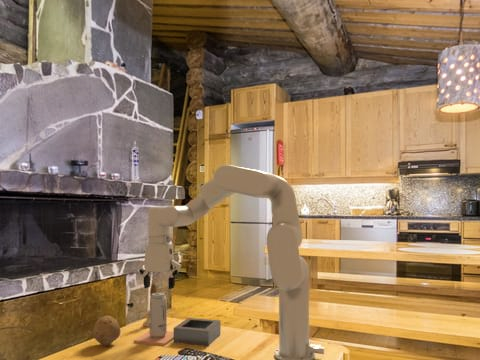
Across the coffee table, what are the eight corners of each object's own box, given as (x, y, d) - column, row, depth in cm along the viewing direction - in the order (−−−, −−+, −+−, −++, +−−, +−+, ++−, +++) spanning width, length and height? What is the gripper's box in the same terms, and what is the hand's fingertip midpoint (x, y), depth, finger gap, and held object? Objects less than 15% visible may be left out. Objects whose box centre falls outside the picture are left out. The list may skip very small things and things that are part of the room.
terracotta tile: (179, 334, 144) (179, 332, 144) (165, 345, 132) (165, 343, 132) (150, 332, 147) (150, 329, 147) (133, 342, 135) (133, 340, 136)
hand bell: (159, 327, 153) (159, 286, 154) (139, 326, 154) (140, 285, 156) (167, 321, 161) (167, 282, 162) (148, 320, 163) (149, 281, 164)
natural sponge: (85, 347, 131) (86, 317, 132) (105, 339, 139) (105, 311, 139) (105, 351, 127) (106, 320, 128) (124, 343, 135) (125, 314, 136)
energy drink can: (162, 339, 136) (162, 296, 137) (146, 338, 137) (147, 295, 138) (169, 334, 142) (169, 292, 143) (154, 333, 143) (154, 291, 144)
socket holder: (220, 334, 144) (220, 320, 145) (208, 346, 132) (208, 331, 132) (188, 331, 148) (188, 317, 148) (173, 342, 135) (173, 328, 136)
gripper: (184, 239, 143) (185, 286, 142) (142, 240, 148) (143, 285, 147) (176, 241, 136) (176, 290, 135) (132, 241, 141) (132, 289, 139)
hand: (159, 288), depth 141 cm, fingers open, 9 cm apart
